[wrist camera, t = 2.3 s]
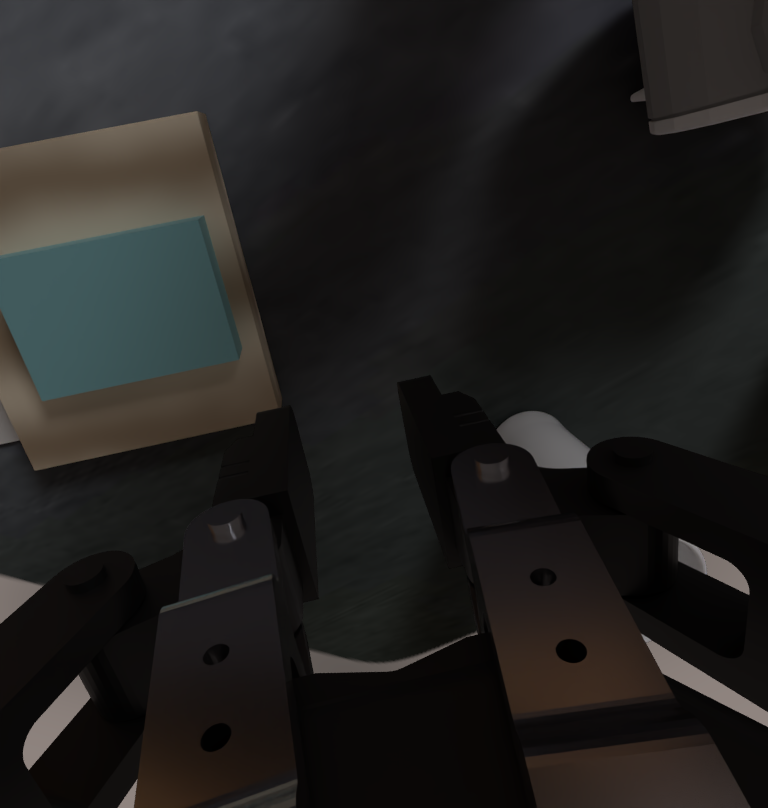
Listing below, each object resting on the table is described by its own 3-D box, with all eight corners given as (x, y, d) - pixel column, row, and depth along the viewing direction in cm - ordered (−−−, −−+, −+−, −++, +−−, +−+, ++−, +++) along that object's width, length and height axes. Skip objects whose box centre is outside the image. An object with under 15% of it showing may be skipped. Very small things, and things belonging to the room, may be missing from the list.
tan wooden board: (-75, 167, 30) (-112, 169, 27) (205, 114, 31) (196, 111, 28) (54, 446, 36) (34, 470, 34) (281, 397, 37) (280, 417, 34)
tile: (-1, 255, 29) (-21, 263, 27) (204, 215, 30) (197, 219, 28) (56, 386, 32) (42, 401, 30) (242, 347, 32) (239, 359, 31)
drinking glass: (477, 493, 42) (564, 661, 28) (474, 404, 39) (570, 543, 25) (570, 479, 42) (700, 637, 29) (574, 390, 40) (720, 519, 26)
